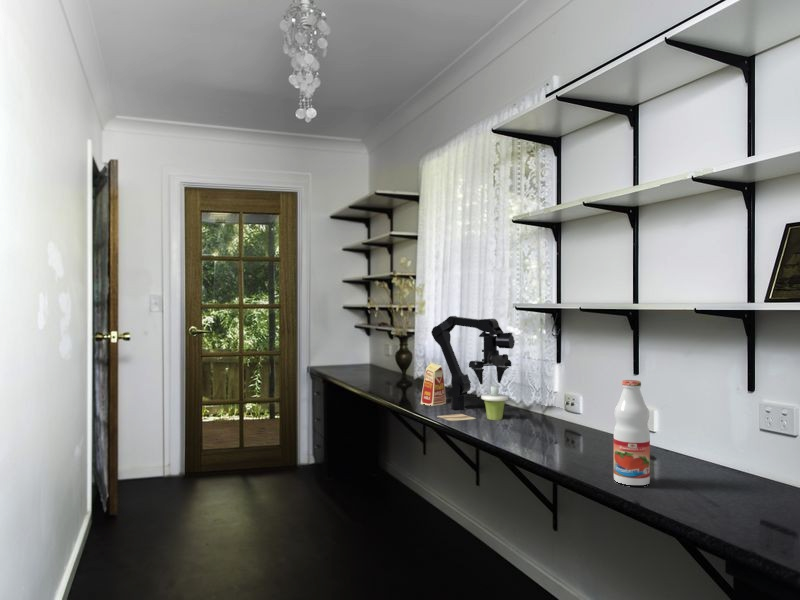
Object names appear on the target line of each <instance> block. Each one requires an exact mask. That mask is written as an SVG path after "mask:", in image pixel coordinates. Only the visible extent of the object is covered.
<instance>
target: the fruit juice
mask: <svg viewBox="0 0 800 600" xmlns="http://www.w3.org/2000/svg"><path fill="white" fill-rule="evenodd" d="M621 387H622V391H621V394H620V398H619V400H618V401H617V404H616V406H615V407H614V409H613V410H614V411H613V414H614V415H613V416H614V420H615V424H614V427H613V481H614V480H615V481H616V482H618V483H622V484H626V485H646V484H650V482H651V481H650V480H651V435H650V433H651V432H650V428H649V426H648V424H649V423H648V422H649V420H650V411H649V408H648V406H647V405H646V403H645V400H644V397H643V394H642V392H641V388H642V382H641V381H640V380H634V379H624V380H622V382H621ZM615 481H614V482H615ZM616 482H615V483H616ZM618 483H617V484H618Z"/></svg>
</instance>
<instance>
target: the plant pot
mask: <svg viewBox="0 0 800 600" xmlns="http://www.w3.org/2000/svg"><path fill="white" fill-rule="evenodd" d="M483 401H484V406H485V410H486V411H485V412H486V419H488V420H493V421H498V420H499V421H500V420H502V419H503V417H504V416H503V415H504V408H505V404H506V401H507V400H505V401H486V400H483Z"/></svg>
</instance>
